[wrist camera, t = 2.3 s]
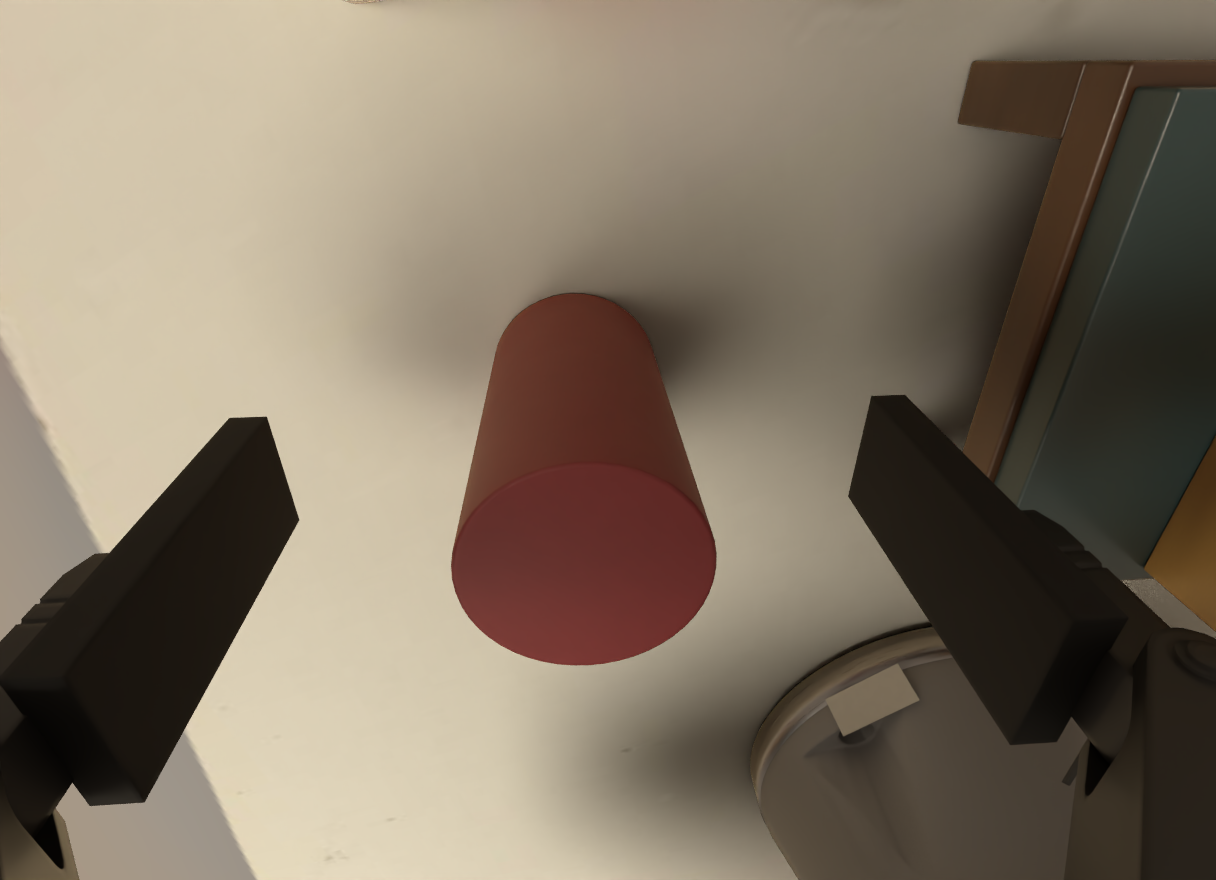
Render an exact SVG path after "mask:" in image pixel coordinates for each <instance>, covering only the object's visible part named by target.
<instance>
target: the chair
mask: <svg viewBox="0 0 1216 880" xmlns="http://www.w3.org/2000/svg"><path fill="white" fill-rule="evenodd" d="M958 123H959V124H963V125H970V126H976V127H983V128H989V129H996V130H1002V131H1009V132H1015V133H1021V134H1028V135H1034V136H1041V137H1047V138H1054V139H1060V140H1062V142H1061V145H1060V148H1059V151H1058V154H1057V157H1056V160H1055V163H1054V167H1053V170H1052V173H1051V176H1050V179H1049V182H1048V185H1047V188H1046V192H1045V195H1044V198H1043V201H1042V204H1041V207H1040V210H1039V214H1038V217H1037V220H1036V223H1035V226H1034V229H1033V232H1032V235H1031V239H1030V242H1029V245H1028V248H1027V251H1026V254H1025V257H1024V260H1023V264H1022V267H1021V270H1020V273H1019V276H1018V279H1017V282H1016V286H1015V289H1014V292H1013V295H1012V298H1011V301H1010V304H1009V307H1008V311H1007V314H1006V317H1005V320H1004V323H1003V326H1002V329H1001V332H1000V336H999V339H998V342H997V345H996V348H995V351H994V354H993V358H992V361H991V364H990V367H989V370H988V373H987V376H986V379H985V383H984V386H983V389H982V392H981V395H980V398H979V401H978V405H977V408H976V411H975V414H974V417H973V420H972V423H971V426H970V430H969V433H968V436H967V439H966V442H965V445H964V448H963V451H962V452H963V453H964V454H965V455H966V456H967V457H968V458H969V459H970V460H971V461H972V462H973V463H974V464H975V465H976V466H977V467H978V468H979V469H980V470H981V471H982V472H983V473H984V474H985V475H986V476H987V477H988V478H989V479H990V480H991V481H992V482H993V483H994V484H995V485H996V486H997V487H998V488H999V489H1000V490H1001V491H1002V492H1003V493H1004V494H1005V495H1006V496H1007V497H1008V498H1009V499H1010V500H1011V501H1012V502H1013V503H1014V504H1015V505H1016V506H1017V507H1018V508H1019V509H1020V510H1036V511H1037V512H1039V513H1041V514H1042V515H1044V516H1046V517H1048V518H1049V519H1051V520H1053V521H1054V522H1056V523H1058V524H1060V525H1061V526H1063V527H1064V528H1065V529H1066V530H1067V531H1068V532H1069V533H1071V534H1072V535H1073V536H1074V537H1075V538H1076V539H1077V540H1078V541H1079V542H1080V543H1081V544H1082V545H1083V546H1084V547H1085V548H1084V549H1085V551H1090V552H1091V553H1092V554H1093V555H1094V556H1095V557H1096V558H1097V559H1098V560H1099V561H1100V562H1101V563H1102V567H1103V568H1108V569H1109V570H1110V571H1111V572H1112V573H1113V574H1114V575H1115V576H1116V577H1117V578H1118V579H1119V580H1135V579H1155V580H1157V581H1158V582H1159V583H1160V584H1161V585H1162V586H1163V587H1165V588H1166V589H1167V590H1168V591H1169V592H1170V593H1172V594H1173V595H1174V596H1175V597H1176V598H1177V599H1178V600H1180V601H1181V602H1182V603H1183V604H1184V605H1185V606H1187V607H1188V608H1189V609H1190V610H1191V611H1192V612H1193V613H1195V614H1196V615H1197V616H1198V617H1199V618H1200V619H1201V620H1203V621H1204V622H1205V623H1206V624H1207V625H1208V626H1210V627H1211V628H1212V629H1213V630H1214V631H1215V632H1216V60H1058V61H974V62H973V63H972V66H971V70H970V74H969V78H968V82H967V86H966V90H965V94H964V99H963V103H962V107H961V111H960V115H959V119H958Z"/></svg>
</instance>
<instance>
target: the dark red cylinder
mask: <svg viewBox="0 0 1216 880" xmlns="http://www.w3.org/2000/svg"><path fill="white" fill-rule="evenodd" d="M716 554H717V553H716V547H715V540H714V537H713V534H712V531H711V528H710V525H709V522H708V519H707V516H706V513H705V509H704V506H703V503H702V500H701V497H700V494H699V491H698V488H697V485H696V482H695V479H694V476H693V473H692V470H691V467H690V463H689V460H688V457H687V454H686V451H685V448H684V445H683V442H682V439H681V436H680V433H679V430H678V427H677V424H676V420H675V417H674V414H673V411H672V408H671V405H670V402H669V399H668V396H667V393H666V390H665V387H664V384H663V381H662V378H661V374H660V371H659V368H658V365H657V362H656V359H655V356H654V353H653V350H652V347H651V344H650V341H649V339H648V337H647V335H646V333H645V331H644V330H643V328H642V327H641V325H640V324H639V323H638V322H637V321H636V319H635V318H634V317H633V316H632V315H630V314H629V313H628V312H627V311H626V310H624V309H623V308H621V307H620V306H618V305H617V304H615V303H613V302H611V301H608V300H606V299H603V298H600V297H597V296H593V295H587V294H562V295H557V296H552V297H549V298H546V299H543V300H541V301H538V302H537V303H535V304H533V305H531V306H529V307H528V308H526V309H525V310H523V311H522V312H521V313H520V314H519V315H518V316H516V317H515V318H514V319H513V320H512V322H511V323H510V324H509V325H508V327H507V328H506V330H505V331H504V333H503V335H502V336H501V339H500V341H499V343H498V346H497V350H496V353H495V358H494V362H493V367H492V372H491V376H490V381H489V385H488V390H487V395H486V399H485V404H484V409H483V413H482V418H481V422H480V427H479V432H478V436H477V441H476V446H475V450H474V455H473V459H472V464H471V469H470V473H469V478H468V483H467V487H466V492H465V496H464V501H463V506H462V510H461V515H460V520H459V524H458V529H457V533H456V538H455V543H454V547H453V552H452V562H451V571H452V580H453V584H454V588H455V592H456V595H457V597H458V599H459V601H460V604H461V606H462V608H463V609H464V611H465V612H466V614H467V615H468V617H469V618H470V619H471V620H472V622H473V623H474V624H475V625H476V626H477V627H478V628H479V629H480V630H481V631H482V632H483V633H484V634H486V635H487V636H488V637H489V638H491V639H492V640H494V641H495V642H496V643H498V644H499V645H501V646H503V647H505V648H507V649H509V650H511V651H513V652H515V653H517V654H520V655H523V656H525V657H528V658H532V659H535V660H539V661H543V662H548V663H554V664H562V665H595V664H604V663H610V662H615V661H620V660H623V659H626V658H630V657H633V656H636V655H639V654H641V653H644V652H646V651H649V650H650V649H652V648H654V647H656V646H658V645H660V644H662V643H663V642H665V641H667V640H668V639H670V638H671V637H673V636H674V635H675V634H676V633H678V632H679V631H680V630H681V629H683V628H684V627H685V626H686V625H687V624H688V623H689V622H690V621H691V620H692V619H693V617H694V616H695V615H696V614H697V612H698V611H699V610H700V608H701V607H702V605H703V604H704V602H705V600H706V598H707V596H708V594H709V592H710V589H711V586H712V583H713V580H714V576H715V570H716Z"/></svg>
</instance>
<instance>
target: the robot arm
mask: <svg viewBox="0 0 1216 880" xmlns="http://www.w3.org/2000/svg"><path fill="white" fill-rule="evenodd" d="M848 497H849V498H850V500H851V502H852V503H853V505H854V506H855V508H856V509H857V511H858V512H859V514H860V515H861V517H862V518H863V520H864V522H865V523H866V525H867V526H868V528H869V529H870V531H871V532H872V534H873V535H874V537H875V538H876V540H877V541H878V543H879V545H880V546H881V548H882V549H883V551H884V552H885V554H886V555H887V557H888V558H889V560H890V561H891V563H892V565H893V566H894V568H895V569H896V571H897V572H898V574H899V575H900V577H901V578H902V580H903V581H904V583H905V585H906V586H907V588H908V589H909V591H910V592H911V594H912V595H913V597H914V598H915V600H916V601H917V603H918V604H919V606H920V608H921V609H922V611H923V612H924V614H925V615H926V617H927V618H928V620H929V621H930V623H931V624H932V626H933V627H928V628H922V629H917V630H913V631H909V632H904V633H901V634H897V635H894V636H890V637H887V638H884V639H881V640H878V641H876V642H873V643H870V644H867V645H865V646H863V647H860V648H858V649H856V650H854V651H851V652H849V653H847V654H845V655H843V656H841V657H839V658H838V659H836V660H834V661H832V662H830V663H829V664H827V665H825V666H824V667H822V668H820V669H819V670H817V671H816V672H814V673H813V674H812V675H810V676H809V677H807V678H806V679H804V680H803V681H802V682H801V683H800V684H798V685H797V686H796V687H795V688H793V689H792V690H791V691H790V692H789V693H788V694H787V695H786V696H785V697H784V698H783V699H782V700H781V701H780V702H779V703H778V704H777V705H776V707H775V708H774V709H773V710H772V711H771V713H770V714H769V716H768V717H767V718H766V720H765V721H764V723H763V725H762V726H761V728H760V730H759V732H758V734H757V736H756V739H755V741H754V744H753V748H752V752H751V759H750V771H751V777H752V781H753V785H754V789H755V793H756V796H757V800H758V804H759V808H760V811H761V815H762V817H763V819H764V822H765V824H766V825H767V827H768V829H769V831H770V834H771V836H772V838H773V839H774V841H775V843H776V844H777V846H778V847H779V849H780V851H781V852H782V854H783V855H784V857H785V859H786V860H787V862H788V864H789V865H790V867H791V868H792V870H793V872H794V873H795V875H796V876H797V878H798V880H1216V639H1215V638H1213V637H1210V636H1208V635H1206V634H1203V633H1199V632H1195V631H1192V630H1188V629H1184V628H1170V627H1169V626H1168V625H1167V624H1166V623H1165V622H1164V621H1163V620H1162V619H1161V618H1160V617H1159V616H1158V615H1156V614H1155V613H1154V612H1153V611H1152V610H1151V609H1150V608H1149V607H1148V606H1147V605H1146V604H1145V603H1144V602H1143V601H1142V600H1141V599H1139V598H1138V597H1137V596H1136V595H1135V594H1134V593H1133V592H1132V591H1131V590H1130V589H1129V588H1128V587H1127V586H1126V585H1125V584H1124V583H1123V582H1121V581H1120V580H1119V579H1118V578H1117V577H1116V576H1115V575H1114V574H1113V573H1112V572H1111V571H1110V570H1109V569H1108V568H1103V567H1102V563H1101V562H1100V561H1099V560H1098V559H1097V558H1096V557H1095V556H1094V555H1093V554H1092V553H1091V552H1090V551H1085V549H1084V548H1085V547H1084V546H1083V545H1082V544H1081V543H1080V542H1079V541H1078V540H1077V539H1076V538H1075V537H1074V536H1073V535H1072V534H1071V533H1069V532H1068V531H1067V530H1066V529H1065V528H1064V527H1063V526H1061V525H1060V524H1058V523H1056V522H1054V521H1053V520H1051V519H1049V518H1048V517H1046V516H1044V515H1042V514H1041V513H1039V512H1037V511H1036V510H1020V509H1019V508H1018V507H1017V506H1016V505H1015V504H1014V503H1013V502H1012V501H1011V500H1010V499H1009V498H1008V497H1007V496H1006V495H1005V494H1004V493H1003V492H1002V491H1001V490H1000V489H999V488H998V487H997V486H996V485H995V484H994V483H993V482H992V481H991V480H990V479H989V478H988V477H987V476H986V475H985V474H984V473H983V472H982V471H981V470H980V469H979V468H978V467H977V466H976V465H975V464H974V463H973V462H972V461H971V460H970V459H969V458H968V457H967V456H966V455H965V454H964V453H963V452H962V451H961V450H960V449H959V448H958V447H957V446H956V445H955V444H954V443H953V442H952V441H951V440H950V439H949V438H948V437H947V436H946V435H945V434H944V433H943V432H942V431H941V430H940V429H939V428H938V427H937V426H936V425H935V424H934V423H933V422H932V421H931V420H930V419H929V418H928V417H927V416H926V415H925V414H924V413H923V412H922V411H921V410H920V409H919V408H918V407H917V406H916V405H915V404H913V403H912V402H911V401H910V400H909V399H908V398H907V397H906V396H905V395H889V396H871V400H870V405H869V409H868V413H867V418H866V422H865V426H864V430H863V435H862V439H861V443H860V448H859V452H858V456H857V460H856V465H855V469H854V473H853V478H852V482H851V486H850V491H849V495H848ZM298 521H299V518H298V514H297V511H296V508H295V505H294V502H293V499H292V495H291V492H290V489H289V486H288V483H287V479H286V476H285V473H284V470H283V467H282V464H281V460H280V457H279V454H278V451H277V448H276V445H275V441H274V438H273V435H272V432H271V429H270V426H269V422H268V419H267V417H245V418H229V419H228V420H227V421H226V422H225V424H224V425H223V426H222V427H221V428H220V429H219V430H218V431H217V433H216V434H215V435H214V436H213V437H212V438H211V439H210V440H209V442H208V443H207V444H206V445H205V446H204V447H203V448H202V449H201V451H200V452H199V453H198V454H197V455H196V456H195V457H194V458H193V460H192V461H191V462H190V463H189V464H188V465H187V466H186V467H185V469H184V470H183V471H182V472H181V473H180V474H179V475H178V476H177V478H176V479H175V480H174V481H173V482H172V483H171V484H170V485H169V487H168V488H167V489H166V490H165V491H164V492H163V493H162V494H161V496H160V497H159V498H158V499H157V500H156V501H155V502H154V503H153V505H152V506H151V507H150V508H149V509H148V510H147V511H146V512H145V514H144V515H143V516H142V517H141V518H140V519H139V520H138V521H137V523H136V524H135V525H134V526H133V527H132V528H131V529H130V530H129V532H128V533H127V534H126V535H125V536H124V537H123V538H122V539H121V541H120V542H119V543H118V544H117V545H116V546H115V547H114V548H113V550H112V551H111V552H110V553H101V554H94V555H92V556H91V557H89V558H88V559H86V560H85V561H83V562H82V563H81V564H79V565H78V566H76V567H74V568H73V569H71V570H70V571H68V572H67V573H65V574H64V575H62V577H61V578H60V579H59V580H58V581H57V582H56V583H55V584H54V585H53V586H52V587H51V588H50V589H49V590H48V591H47V593H46V594H45V595H44V596H43V597H42V598H41V599H40V604H35V605H34V606H33V607H32V609H31V610H30V611H29V612H28V613H27V614H26V615H25V616H24V617H23V618H22V623H21V624H18V625H15V627H14V628H13V629H12V630H11V631H10V632H9V633H8V634H7V635H6V636H5V637H4V638H3V639H2V640H1V642H0V880H79V876H78V872H77V868H76V864H75V861H74V856H73V852H72V848H71V844H70V840H69V836H68V831H67V827H66V823H65V821H64V819H63V818H62V816H61V815H60V814H59V812H58V811H57V810H56V806H57V805H58V803H59V801H60V800H61V799H62V797H63V796H64V794H65V793H66V791H67V790H68V788H69V787H70V785H71V784H72V783H73V784H74V785H75V787H76V788H77V789H78V791H79V792H80V793H81V795H82V796H83V797H84V799H85V800H86V802H87V803H88V804H89V805H90V806H97V805H111V804H126V803H127V804H128V803H143V802H145V801H146V799H147V797H148V795H149V793H150V791H151V789H152V788H153V786H154V784H155V782H156V780H157V779H158V777H159V775H160V773H161V771H162V770H163V768H164V766H165V764H166V762H167V760H168V759H169V757H170V755H171V753H172V751H173V749H174V748H175V746H176V744H177V742H178V740H179V739H180V737H181V735H182V733H183V731H184V729H185V728H186V726H187V724H188V722H189V720H190V718H191V717H192V715H193V713H194V711H195V709H196V707H197V706H198V704H199V702H200V700H201V698H202V697H203V695H204V693H205V691H206V689H207V687H208V686H209V684H210V682H211V680H212V678H213V676H214V675H215V673H216V671H217V669H218V667H219V666H220V664H221V662H222V660H223V658H224V656H225V655H226V653H227V651H228V649H229V647H230V645H231V644H232V642H233V640H234V638H235V636H236V634H237V633H238V631H239V629H240V627H241V625H242V624H243V622H244V620H245V618H246V616H247V614H248V613H249V611H250V609H251V607H252V605H253V603H254V602H255V600H256V598H257V596H258V594H259V593H260V591H261V589H262V587H263V585H264V583H265V582H266V580H267V578H268V576H269V574H270V572H271V571H272V569H273V567H274V565H275V563H276V562H277V560H278V558H279V556H280V554H281V552H282V551H283V549H284V547H285V545H286V543H287V541H288V540H289V538H290V536H291V534H292V532H293V530H294V529H295V527H296V525H297V523H298Z"/></svg>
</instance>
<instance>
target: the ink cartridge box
mask: <svg viewBox="0 0 1216 880" xmlns="http://www.w3.org/2000/svg"><path fill="white" fill-rule="evenodd" d="M343 1H346V2H350V3H353V4H363V3H370V2H377V1H384V0H343Z"/></svg>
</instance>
